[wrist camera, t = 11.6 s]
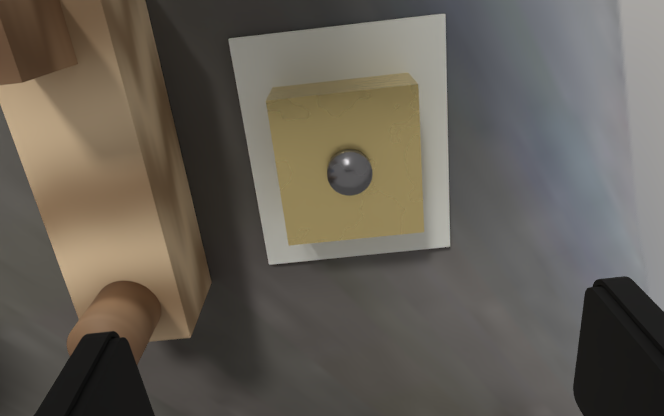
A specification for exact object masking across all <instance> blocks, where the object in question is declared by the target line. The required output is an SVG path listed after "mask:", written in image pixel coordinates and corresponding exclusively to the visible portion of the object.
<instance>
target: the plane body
mask: <svg viewBox="0 0 664 416" xmlns="http://www.w3.org/2000/svg"><path fill="white" fill-rule="evenodd" d="M0 104H1V107H2V110H3V113H4V115H5V118H6V121H7V124H8V126H9V129H10V132H11V134H12V137H13V140H14V143H15V145H16V148H17V151H18V154H19V156H20V159H21V162H22V165H23V167H24V170H25V173H26V176H27V178H28V181H29V184H30V186H31V189H32V192H33V195H34V197H35V200H36V203H37V206H38V208H39V211H40V214H41V217H42V219H43V222H44V225H45V228H46V230H47V233H48V236H49V238H50V241H51V244H52V247H53V249H54V252H55V255H56V258H57V260H58V263H59V266H60V269H61V271H62V274H63V277H64V280H65V282H66V285H67V288H68V290H69V293H70V296H71V299H72V301H73V304H74V307H75V310H76V312H77V315H78V318H79V321H78V322H77V324H76V325H75V327H74V328H73V329H72V331H71V332H70V334H69V336H68V339H67V349H68V352H69V355H70V356H71V355H72V353H73V351H74V350H75V348H76V346H77V345H78V343H79V342H80V340H81V338H82V337H83V336H84V335H86V334H91V333H100V332H109V331H115V332H117V333H118V334H119V336H120V338H121V337H125V338H126V339H127V340H128V342H129V345H130V347H131V350H132V353H133V356H134V359H135V361H136V364H138V362H139V360H140V358H141V356H142V354H143V352H144V350H145V348H146V346H147V344H148V342H151V341H161V340H172V339H182V338H191V335H192V333H193V330H194V328H195V325H196V322H197V320H198V317H199V314H200V312H201V309H202V307H203V304H204V301H205V299H206V296H207V293H208V291H209V288H210V286H211V283H212V282H211V278H210V274H209V269H208V265H207V261H206V256H205V252H204V248H203V244H202V239H201V235H200V231H199V227H198V222H197V218H196V214H195V210H194V205H193V201H192V197H191V193H190V188H189V184H188V180H187V176H186V171H185V167H184V163H183V159H182V154H181V150H180V146H179V141H178V137H177V133H176V129H175V124H174V120H173V116H172V112H171V107H170V103H169V99H168V95H167V90H166V86H165V82H164V78H163V73H162V69H161V65H160V61H159V56H158V52H157V48H156V43H155V39H154V35H153V31H152V26H151V22H150V18H149V14H148V9H147V5H146V1H145V0H0Z"/></svg>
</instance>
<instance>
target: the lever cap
mask: <svg viewBox="0 0 664 416" xmlns="http://www.w3.org/2000/svg"><path fill="white" fill-rule="evenodd" d="M266 105H267V112H268V118H269V124H270V131H271V137H272V144H273V150H274V156H275V163H276V169H277V175H278V182H279V188H280V194H281V201H282V207H283V213H284V220H285V226H286V232H287V239H288V245H289V246H291V245H301V244H311V243H321V242H331V241H341V240H351V239H361V238H371V237H382V236H392V235H402V234H412V233H422V232H424V213H423V188H422V162H421V137H420V112H419V87H418V83H417V82H416V81H415V80H414V79H413V77H412V76H411V75H410V74H409V73H399V74H390V75H381V76H372V77H363V78H354V79H345V80H335V81H326V82H317V83H308V84H299V85H290V86H281V87H272V89H271V91H270V93H269V95H268V97H267V99H266Z"/></svg>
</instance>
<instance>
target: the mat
mask: <svg viewBox="0 0 664 416" xmlns="http://www.w3.org/2000/svg"><path fill="white" fill-rule="evenodd" d="M228 41H229V46H230V52H231V57H232V63H233V68H234V74H235V80H236V85H237V91H238V96H239V102H240V107H241V113H242V118H243V124H244V129H245V135H246V140H247V146H248V152H249V157H250V163H251V168H252V174H253V179H254V185H255V190H256V196H257V201H258V207H259V212H260V218H261V224H262V229H263V235H264V240H265V246H266V251H267V257H268V262H269V265H272V264H282V263H292V262H302V261H312V260H322V259H332V258H342V257H352V256H362V255H372V254H382V253H392V252H402V251H412V250H422V249H432V248H442V247H450V212H449V164H448V116H447V67H446V19H445V14H435V15H426V16H418V17H409V18H400V19H392V20H383V21H374V22H366V23H357V24H349V25H340V26H331V27H323V28H314V29H305V30H297V31H288V32H280V33H271V34H262V35H254V36H245V37H236V38H229V39H228ZM399 73H409V74H410V75H411V76H412V77H413V79H414V80H415V81H416V82H417V83H418V87H419V112H420V137H421V162H422V188H423V213H424V232H422V233H412V234H402V235H392V236H382V237H371V238H361V239H351V240H341V241H331V242H321V243H311V244H301V245H291V246H289V245H288V239H287V232H286V226H285V220H284V213H283V207H282V201H281V194H280V188H279V182H278V175H277V169H276V163H275V156H274V150H273V144H272V137H271V131H270V124H269V118H268V112H267V105H266V99H267V97H268V95H269V93H270V91H271V89H272V87H281V86H290V85H299V84H308V83H317V82H326V81H335V80H345V79H354V78H363V77H372V76H381V75H390V74H399Z"/></svg>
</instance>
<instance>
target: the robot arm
mask: <svg viewBox="0 0 664 416" xmlns="http://www.w3.org/2000/svg"><path fill="white" fill-rule="evenodd" d="M573 391H574V396H575V400H576V403H577V405H578V407H579V409H580V410H581V412H582V414H583V415H584V416H664V312H663V311H662V310H661V309H660V308H659V307H658V306H657V305H656V304H655V303H654V302H653V301H652V299H651V298H650V297H649V296H648V295H647V294H646V293H645V292H644V291H643V290H642V289H641V288H640V287H639V286H638V285H637V284H636V283H635V282H634V281H633V280H632V279H630V278H629V277H625V276H624V277H615V278H606V279H598V280H596V281H595V282H594V284H593V287H590V288H587V290H586V292H585V297H584V305H583V313H582V321H581V329H580V337H579V345H578V353H577V361H576V369H575V377H574V385H573ZM34 416H155V415H154V412H153V410H152V407H151V404H150V401H149V398H148V395H147V393H146V390H145V387H144V384H143V381H142V378H141V376H140V373H139V370H138V367H137V364H136V361H135V359H134V356H133V353H132V350H131V347H130V345H129V342H128V340H127V339H126V338H125V337H121V338H120V336H119V334H118V333H117V332H115V331H109V332H100V333H91V334H86V335H84V336H83V337H82V338H81V340H80V342H79V343H78V345H77V346H76V348H75V350H74V351H73V353H72V355H71V356H70V358H69V360H68V361H67V363H66V364H65V366H64V368H63V369H62V371H61V373H60V374H59V376H58V378H57V379H56V381H55V382H54V384H53V386H52V387H51V389H50V391H49V392H48V394H47V396H46V397H45V399H44V400H43V402H42V404H41V405H40V407H39V409H38V410H37V412H36V414H35V415H34Z"/></svg>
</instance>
